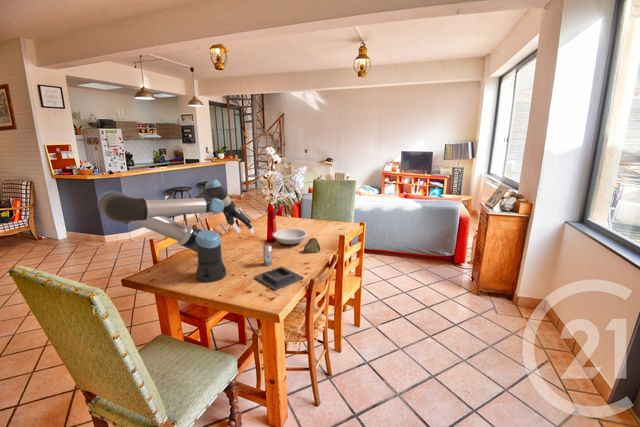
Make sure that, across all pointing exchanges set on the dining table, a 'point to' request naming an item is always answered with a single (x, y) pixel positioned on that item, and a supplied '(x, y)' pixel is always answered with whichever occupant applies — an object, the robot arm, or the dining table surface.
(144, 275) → the dining table surface
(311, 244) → the rock
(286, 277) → the socket plate
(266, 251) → the steel roller
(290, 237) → the soup bowl
